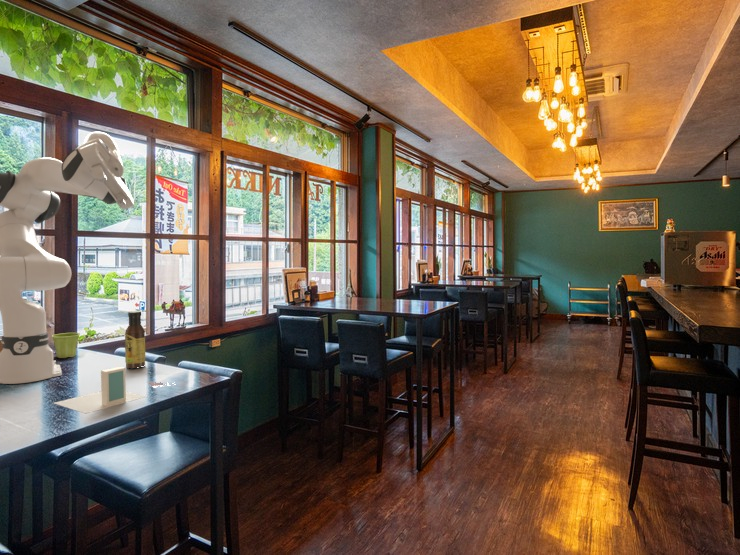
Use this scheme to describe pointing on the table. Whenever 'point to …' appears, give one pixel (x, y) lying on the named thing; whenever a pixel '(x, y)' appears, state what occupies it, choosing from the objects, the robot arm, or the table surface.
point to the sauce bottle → (134, 341)
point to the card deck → (113, 386)
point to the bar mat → (92, 402)
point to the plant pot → (65, 344)
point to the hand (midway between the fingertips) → (112, 192)
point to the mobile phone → (158, 384)
